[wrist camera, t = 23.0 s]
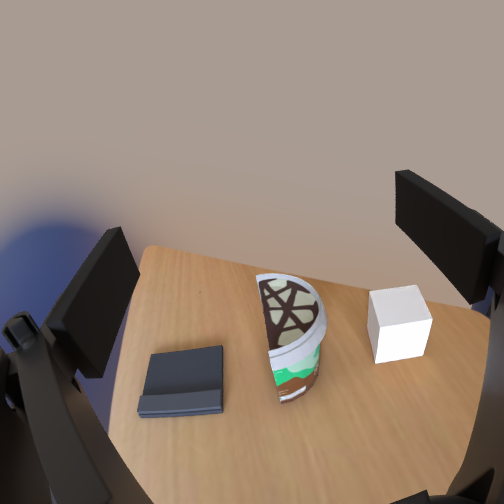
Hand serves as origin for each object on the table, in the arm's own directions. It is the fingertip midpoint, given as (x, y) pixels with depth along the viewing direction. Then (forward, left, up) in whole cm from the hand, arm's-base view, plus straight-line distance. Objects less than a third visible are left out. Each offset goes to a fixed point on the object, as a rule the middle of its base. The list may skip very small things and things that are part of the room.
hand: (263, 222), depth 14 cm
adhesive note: (-13, -10, -23) cm, 29 cm away
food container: (-1, -10, -23) cm, 26 cm away
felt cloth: (+13, -10, -23) cm, 28 cm away
